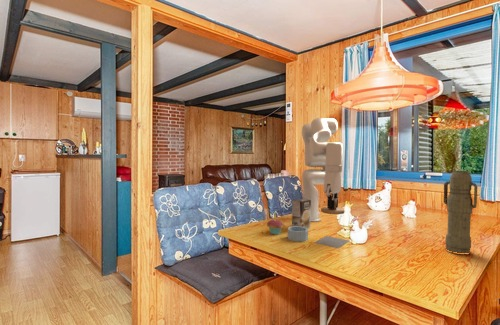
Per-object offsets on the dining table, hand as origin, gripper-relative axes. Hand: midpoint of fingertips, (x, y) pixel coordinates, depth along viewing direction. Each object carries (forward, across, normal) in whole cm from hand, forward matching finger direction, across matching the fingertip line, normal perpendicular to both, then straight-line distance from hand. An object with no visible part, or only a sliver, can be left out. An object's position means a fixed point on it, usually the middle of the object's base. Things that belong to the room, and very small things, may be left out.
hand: (332, 207), depth 136 cm
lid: (+2, 0, 0) cm, 2 cm away
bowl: (+17, +6, -15) cm, 23 cm away
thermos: (+17, -23, +47) cm, 55 cm away
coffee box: (+17, -12, -23) cm, 31 cm away
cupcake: (+17, +5, -29) cm, 34 cm away
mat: (+17, 0, 0) cm, 17 cm away
